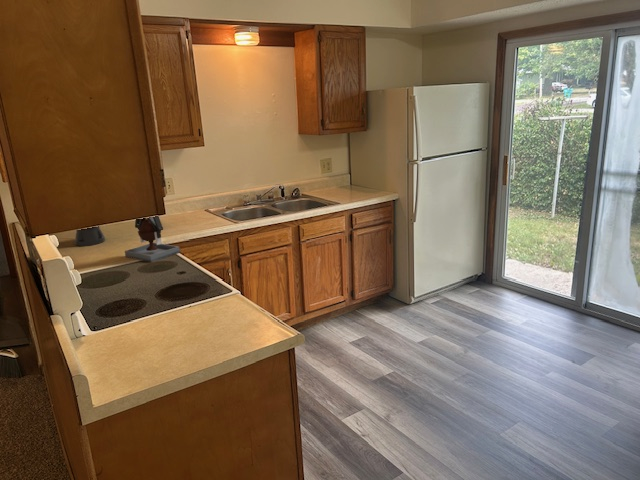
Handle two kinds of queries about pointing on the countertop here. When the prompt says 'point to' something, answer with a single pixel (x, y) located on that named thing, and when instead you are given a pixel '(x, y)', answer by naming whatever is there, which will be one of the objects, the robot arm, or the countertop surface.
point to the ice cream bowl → (147, 234)
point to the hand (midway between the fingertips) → (151, 243)
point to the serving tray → (152, 252)
